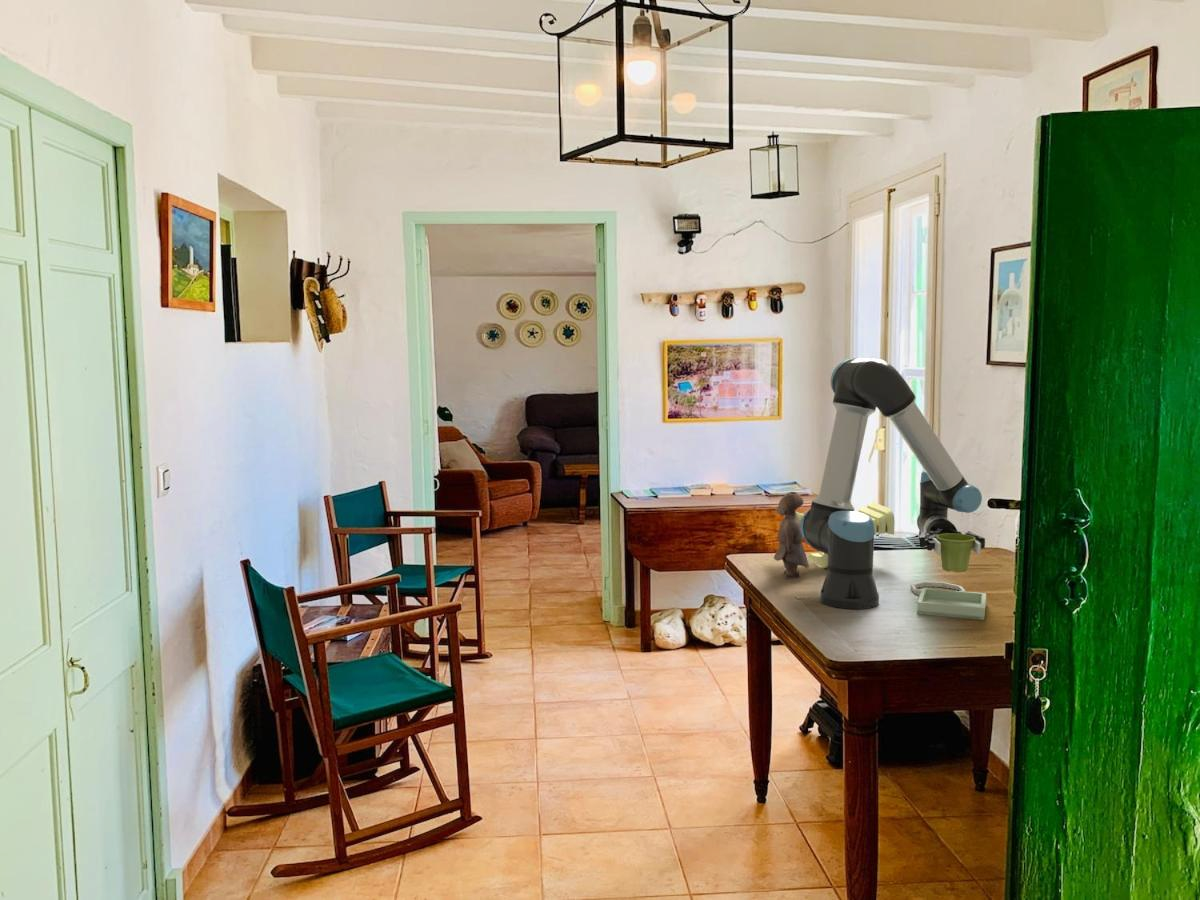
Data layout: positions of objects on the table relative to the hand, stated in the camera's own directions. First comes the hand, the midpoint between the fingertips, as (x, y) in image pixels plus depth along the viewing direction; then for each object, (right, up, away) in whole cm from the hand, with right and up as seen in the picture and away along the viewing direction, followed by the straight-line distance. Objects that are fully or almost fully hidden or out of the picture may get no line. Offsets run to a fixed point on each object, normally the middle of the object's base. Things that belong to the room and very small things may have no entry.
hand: (959, 548), depth 260 cm
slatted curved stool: (-18, -11, +58) cm, 62 cm away
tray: (0, -16, +6) cm, 17 cm away
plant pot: (+1, -6, +5) cm, 8 cm away
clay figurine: (-35, -12, +42) cm, 56 cm away
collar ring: (+2, -14, +24) cm, 28 cm away
